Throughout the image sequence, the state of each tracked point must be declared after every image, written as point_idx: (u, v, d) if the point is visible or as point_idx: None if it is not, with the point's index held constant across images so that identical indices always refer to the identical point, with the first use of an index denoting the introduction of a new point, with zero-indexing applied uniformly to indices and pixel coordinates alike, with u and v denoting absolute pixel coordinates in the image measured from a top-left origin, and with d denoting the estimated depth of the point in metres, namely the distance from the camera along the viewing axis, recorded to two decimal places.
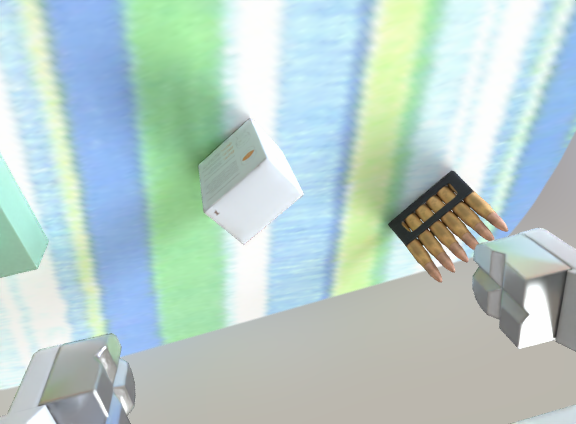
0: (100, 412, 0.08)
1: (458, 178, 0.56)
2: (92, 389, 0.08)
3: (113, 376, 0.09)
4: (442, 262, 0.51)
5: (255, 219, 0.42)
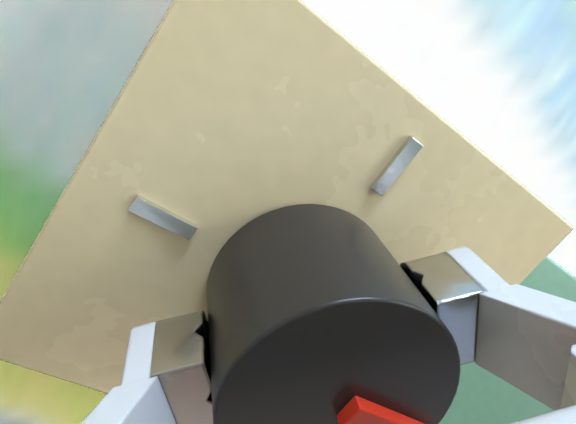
0: (205, 385, 0.08)
1: None
2: (200, 361, 0.08)
3: (207, 352, 0.09)
4: None
5: None
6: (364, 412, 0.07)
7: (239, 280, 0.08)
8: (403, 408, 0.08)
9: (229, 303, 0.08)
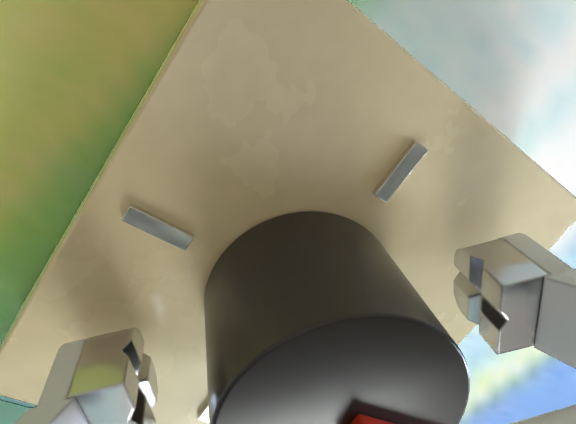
0: (127, 405, 0.08)
1: None
2: (120, 382, 0.08)
3: (138, 370, 0.09)
4: None
5: None
6: None
7: (230, 301, 0.08)
8: (412, 422, 0.08)
9: (221, 326, 0.08)
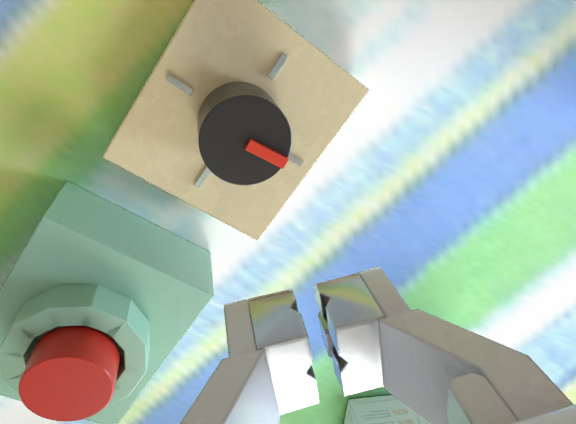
0: (306, 359, 0.08)
1: None
2: (304, 335, 0.08)
3: None
4: None
5: None
6: (252, 141, 0.21)
7: (206, 105, 0.22)
8: (270, 146, 0.21)
9: (203, 112, 0.21)
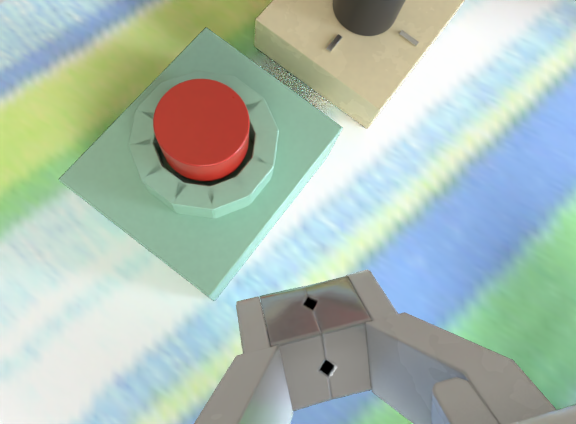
0: (319, 355, 0.08)
1: None
2: (318, 331, 0.08)
3: None
4: None
5: None
6: None
7: None
8: None
9: None
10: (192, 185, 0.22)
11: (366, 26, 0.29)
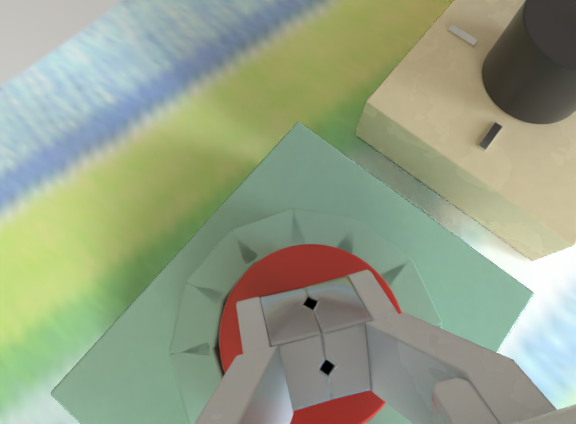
0: (319, 355, 0.08)
1: None
2: (318, 331, 0.08)
3: None
4: None
5: None
6: None
7: None
8: None
9: (510, 21, 0.18)
10: None
11: (545, 112, 0.18)
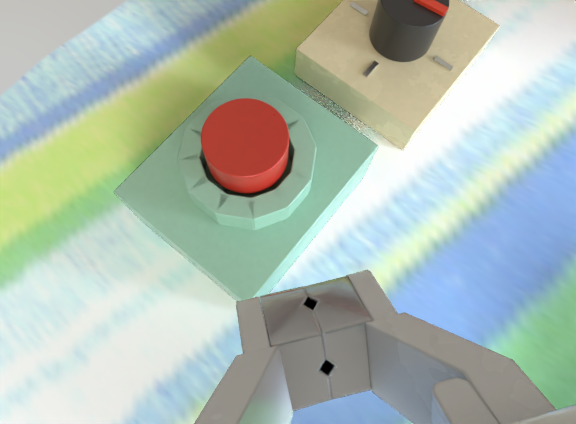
0: (319, 355, 0.08)
1: None
2: (318, 331, 0.08)
3: None
4: None
5: None
6: None
7: None
8: None
9: None
10: (234, 196, 0.23)
11: (401, 52, 0.30)
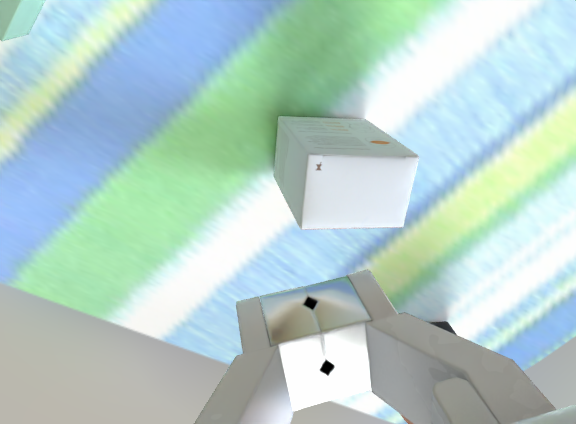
0: (319, 355, 0.08)
1: (453, 332, 0.50)
2: (318, 331, 0.08)
3: None
4: None
5: (342, 210, 0.31)
6: None
7: None
8: None
9: None
10: None
11: None
